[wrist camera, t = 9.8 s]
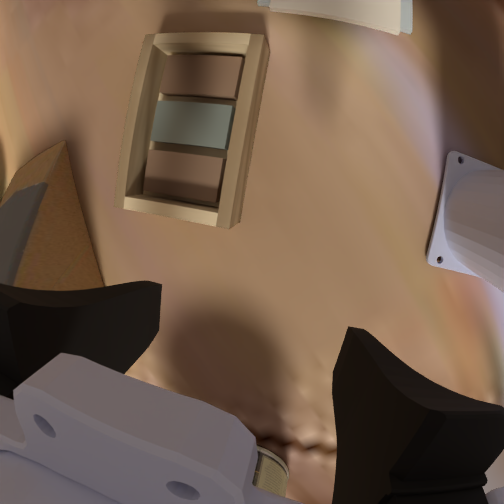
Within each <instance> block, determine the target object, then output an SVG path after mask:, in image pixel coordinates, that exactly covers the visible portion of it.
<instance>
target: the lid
mask: <svg viewBox="0 0 504 504" xmlns="http://www.w3.org/2000/svg"><path fill="white" fill-rule="evenodd" d="M269 9H270V11H272V12H282V13H292V14H300V15H307V16H314V17H320V18H326V19H332V20H337V21H342V22H347V23H352V24H356V25H361V26H365V27H369V28H373V29H377V30H380V31H384V32H388V33H391V34H395V35H398V34H399V33H400V20H401V0H271V1H270V5H269Z"/></svg>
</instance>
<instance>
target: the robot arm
mask: <svg viewBox="0 0 504 504" xmlns="http://www.w3.org/2000/svg"><path fill="white" fill-rule="evenodd" d="M459 157H460V158H461V159H462V162H461V164H460V163H459V162H458V158H459ZM439 256H441V260H440V262H437V258H438V257H439ZM426 261H427V262H428V263H429V264H430V265H432V266H436V267H441V268H445V269H449V270H453V271H457V272H461V273H465V274H469V275H473V276H477V277H481V278H483V279H485V280H486V281H487V282H489V283H490V284H492V285H493V286H495V287H496V288H498V289H499V290H501V291H502V292H504V170H501V169H499V168H497V167H494V166H492V165H490V164H487V163H485V162H483V161H480V160H478V159H475V158H473V157H470V156H468V155H465V154H462V153H460V152H457V151H450V152H449V153H448V155H447V160H446V167H445V173H444V179H443V184H442V190H441V195H440V200H439V205H438V210H437V214H436V219H435V223H434V228H433V232H432V236H431V240H430V244H429V248H428V251H427V255H426ZM161 291H162V284H159V283H155V282H151V281H136V282H129V283H123V284H118V285H112V286H106V287H99V288H92V289H84V290H68V291H54V290H35V289H27V288H20V287H14V286H10V285H5V284H1V283H0V504H304V503H301V502H298V501H295V500H292V499H289V498H286V497H283V496H280V495H277V494H274V493H272V492H269V491H266V490H264V489H261V488H259V487H256V486H254V485H253V484H252V482H253V477H254V473H255V468H256V464H257V460H258V453H257V445H256V437H255V436H254V435H253V434H252V433H251V432H250V431H249V430H248V429H247V428H246V427H245V426H244V425H243V424H242V422H241V421H240V420H239V419H238V418H237V417H236V416H234V415H232V414H230V413H227V412H225V411H223V410H221V409H219V408H217V407H215V406H212V405H210V404H208V403H206V402H204V401H201V400H198V399H194V398H191V397H188V396H184V395H181V394H178V393H175V392H172V391H169V390H166V389H163V388H160V387H157V386H154V385H151V384H149V383H146V382H143V381H140V380H138V379H135V378H132V377H130V376H127V375H124V374H125V373H126V372H127V370H128V369H129V368H130V367H131V366H132V365H133V364H134V363H135V362H136V361H137V359H138V358H139V357H140V356H141V355H142V354H143V353H144V352H145V350H146V349H147V348H148V347H149V345H150V344H151V342H152V341H153V339H154V338H155V336H156V334H157V333H158V331H159V322H160V305H161ZM332 396H333V406H334V415H335V425H336V435H337V459H336V473H335V483H334V492H333V500H332V504H504V487H501V488H496V489H494V490H491V491H490V492H488V493H487V494H485V493H484V490H483V488H482V486H485V484H486V483H487V478H486V475H485V472H486V470H487V469H488V468H489V467H490V466H491V465H492V463H493V462H494V461H495V460H496V458H497V457H498V456H499V455H500V453H501V452H502V451H503V449H504V408H503V407H502V406H500V405H495V404H491V403H487V402H483V401H479V400H475V399H472V398H469V397H466V396H464V395H461V394H458V393H456V392H453V391H451V390H449V389H447V388H445V387H442V386H440V385H438V384H436V383H434V382H433V381H431V380H429V379H427V378H426V377H424V376H423V375H421V374H419V373H418V372H416V371H415V370H413V369H412V368H410V367H409V366H408V365H406V364H405V363H404V362H403V361H401V360H400V359H399V358H398V357H396V356H395V355H394V354H393V353H392V352H390V351H389V350H388V349H387V348H386V347H385V346H384V345H383V344H381V343H380V342H379V341H378V340H377V339H376V338H375V337H374V336H372V335H371V334H370V333H369V332H367V331H366V330H364V329H360V328H354V327H349V326H348V329H347V332H346V335H345V338H344V341H343V344H342V347H341V350H340V353H339V356H338V359H337V362H336V364H335V367H334V370H333V381H332Z"/></svg>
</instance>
